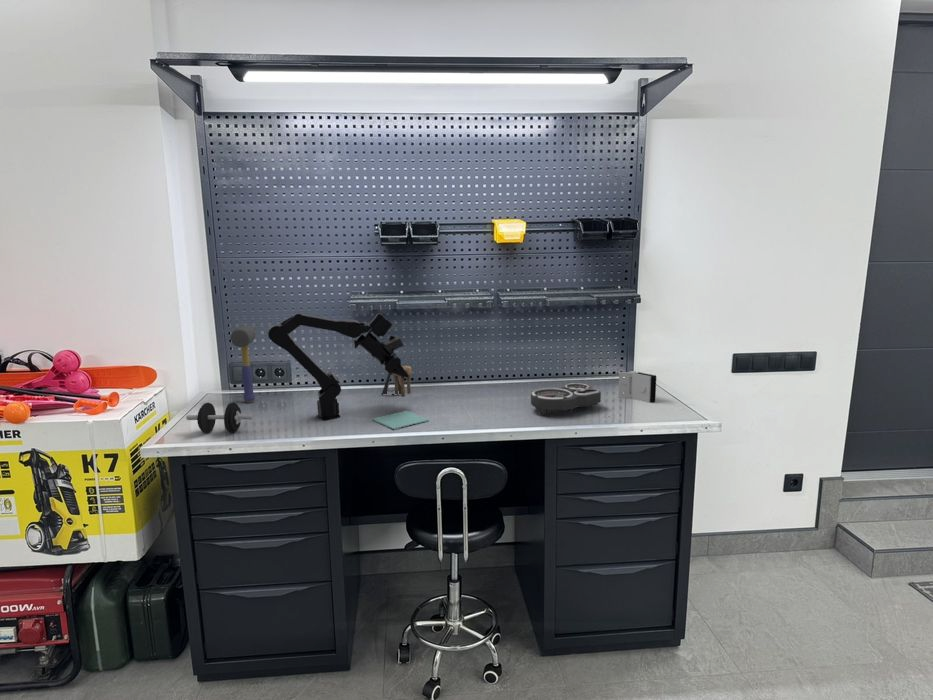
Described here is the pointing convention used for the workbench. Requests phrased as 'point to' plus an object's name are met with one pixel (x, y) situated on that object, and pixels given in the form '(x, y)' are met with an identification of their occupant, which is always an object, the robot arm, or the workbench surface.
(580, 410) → the workbench surface
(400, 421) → the rubber mat
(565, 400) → the motorcycle dashboard
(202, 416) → the dumbbell
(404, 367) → the walnut stool
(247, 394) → the rubber mallet
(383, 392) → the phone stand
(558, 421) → the workbench surface
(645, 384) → the hinge
